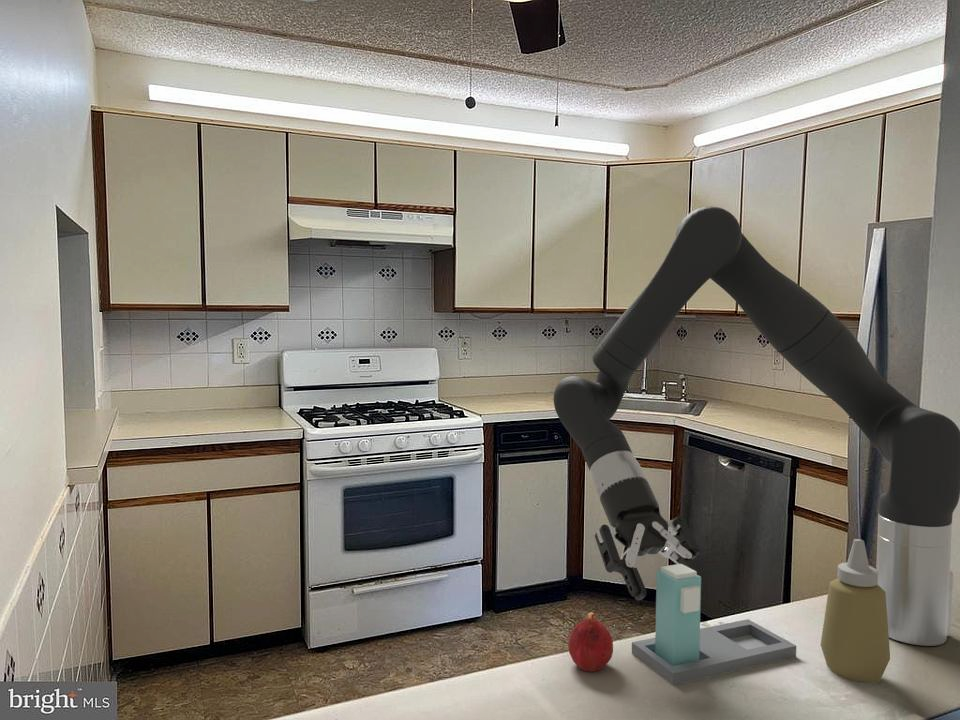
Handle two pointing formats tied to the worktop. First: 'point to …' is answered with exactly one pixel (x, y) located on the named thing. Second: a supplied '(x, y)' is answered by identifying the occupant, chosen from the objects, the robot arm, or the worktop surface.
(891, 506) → the robot arm
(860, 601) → the squeeze bottle
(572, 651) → the onion
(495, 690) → the worktop surface
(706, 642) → the panel
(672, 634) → the plug
